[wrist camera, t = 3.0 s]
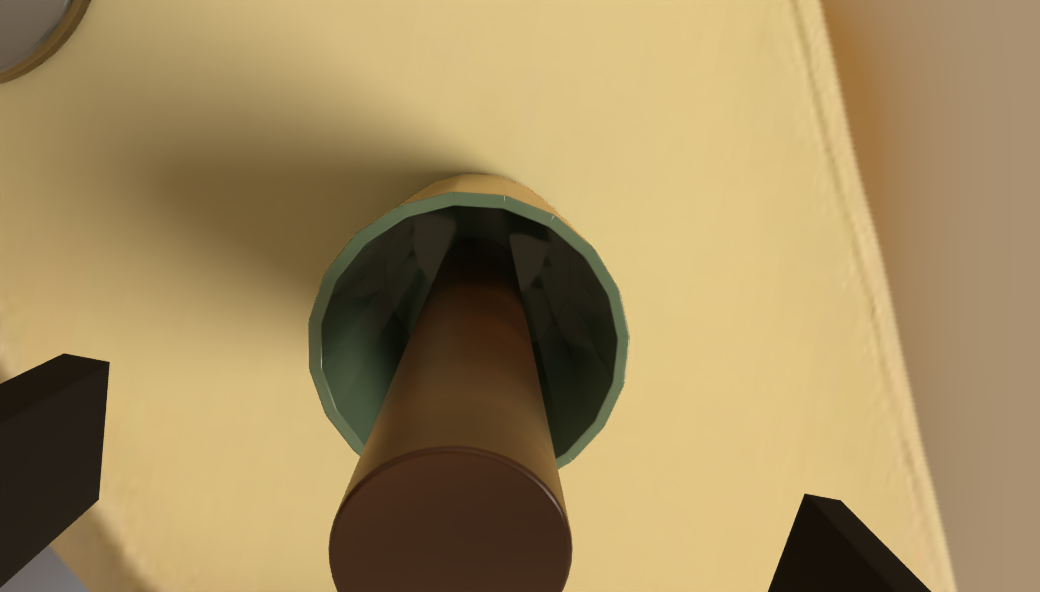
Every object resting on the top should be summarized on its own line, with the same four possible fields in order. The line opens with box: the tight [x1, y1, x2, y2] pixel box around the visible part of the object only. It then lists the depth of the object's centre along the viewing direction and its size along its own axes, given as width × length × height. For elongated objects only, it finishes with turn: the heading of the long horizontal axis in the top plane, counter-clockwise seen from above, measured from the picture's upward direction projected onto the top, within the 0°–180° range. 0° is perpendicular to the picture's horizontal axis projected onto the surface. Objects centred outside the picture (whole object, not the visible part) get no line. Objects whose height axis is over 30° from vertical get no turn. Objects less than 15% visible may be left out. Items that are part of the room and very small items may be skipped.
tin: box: [309, 174, 630, 469], centre depth 24 cm, size 10×10×12 cm
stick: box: [329, 238, 572, 592], centre depth 20 cm, size 4×4×21 cm
